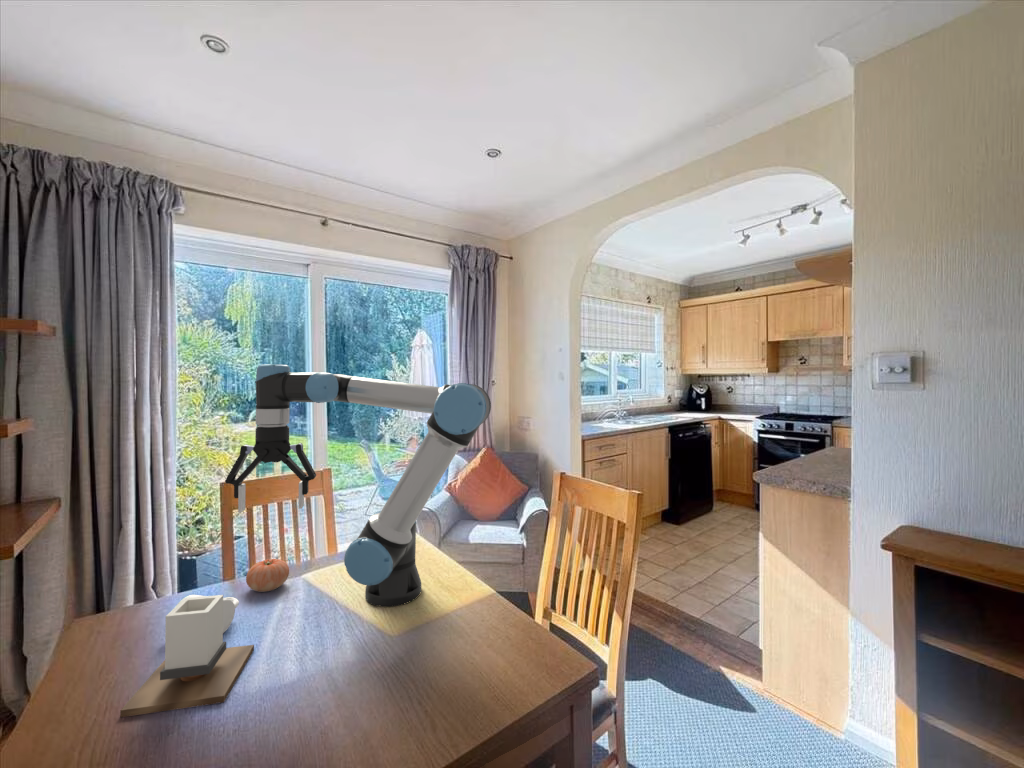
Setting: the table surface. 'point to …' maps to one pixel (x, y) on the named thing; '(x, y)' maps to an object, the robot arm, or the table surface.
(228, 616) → the mug
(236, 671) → the peg stacking board
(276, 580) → the pumpkin
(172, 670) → the ring
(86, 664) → the table surface
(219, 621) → the sleeve
